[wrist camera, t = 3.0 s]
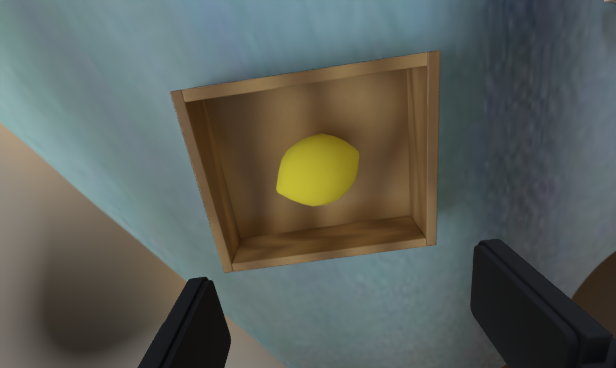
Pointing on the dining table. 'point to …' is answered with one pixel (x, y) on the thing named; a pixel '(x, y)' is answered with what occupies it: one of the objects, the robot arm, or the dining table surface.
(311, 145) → the lemon
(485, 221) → the dining table surface
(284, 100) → the open wooden box
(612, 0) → the pizza slice
